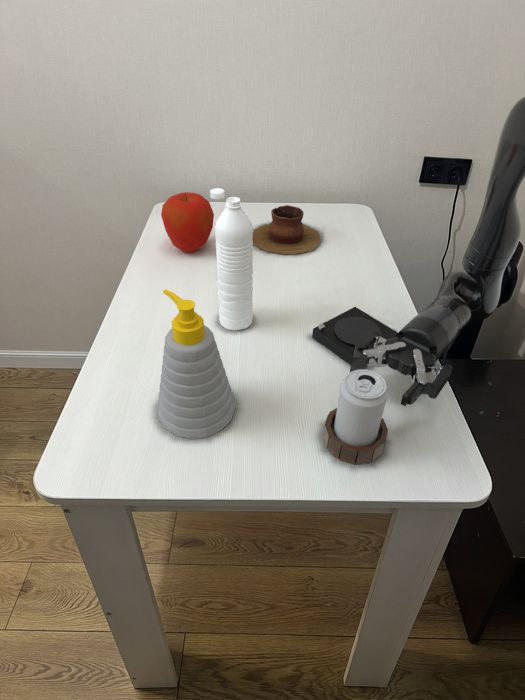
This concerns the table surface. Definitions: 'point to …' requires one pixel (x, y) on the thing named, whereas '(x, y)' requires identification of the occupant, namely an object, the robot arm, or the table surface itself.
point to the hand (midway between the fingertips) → (377, 387)
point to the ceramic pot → (286, 233)
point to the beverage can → (360, 408)
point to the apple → (187, 220)
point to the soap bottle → (193, 378)
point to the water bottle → (234, 263)
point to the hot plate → (349, 332)
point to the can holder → (350, 452)
